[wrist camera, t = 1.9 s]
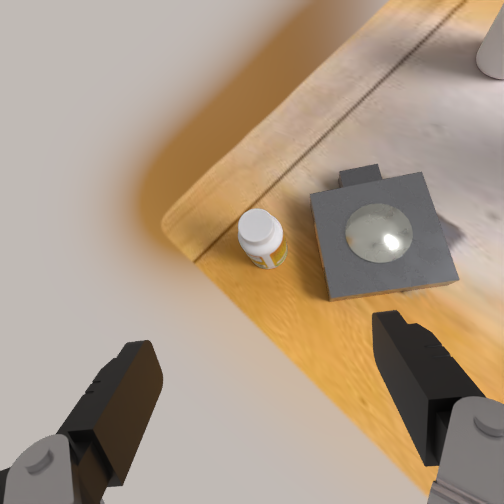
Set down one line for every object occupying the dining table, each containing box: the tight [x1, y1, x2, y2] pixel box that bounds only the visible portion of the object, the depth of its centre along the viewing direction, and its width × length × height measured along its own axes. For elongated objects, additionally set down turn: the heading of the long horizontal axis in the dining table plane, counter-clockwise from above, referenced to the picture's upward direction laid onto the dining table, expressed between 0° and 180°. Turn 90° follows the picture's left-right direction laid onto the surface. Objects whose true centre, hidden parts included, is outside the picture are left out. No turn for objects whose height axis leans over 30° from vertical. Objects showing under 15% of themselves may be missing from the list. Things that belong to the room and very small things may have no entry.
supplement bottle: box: [238, 208, 287, 269], centre depth 37 cm, size 5×5×10 cm
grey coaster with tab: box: [310, 164, 459, 302], centre depth 38 cm, size 17×14×3 cm
